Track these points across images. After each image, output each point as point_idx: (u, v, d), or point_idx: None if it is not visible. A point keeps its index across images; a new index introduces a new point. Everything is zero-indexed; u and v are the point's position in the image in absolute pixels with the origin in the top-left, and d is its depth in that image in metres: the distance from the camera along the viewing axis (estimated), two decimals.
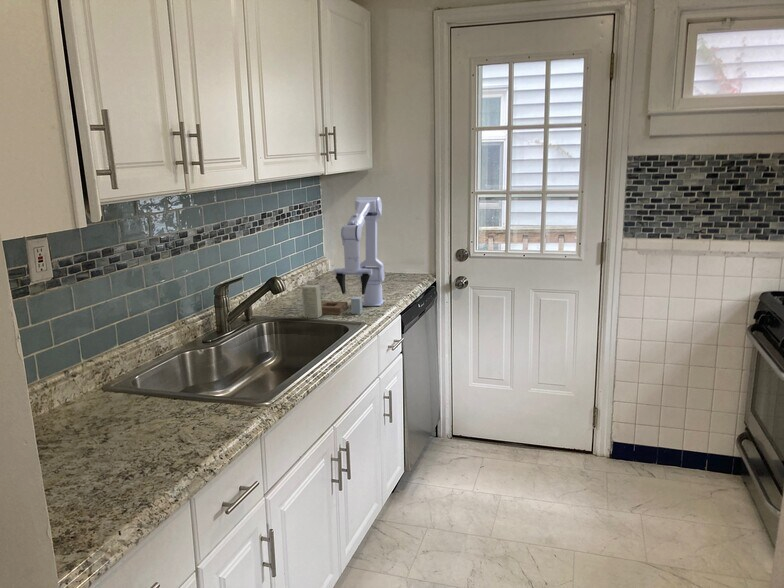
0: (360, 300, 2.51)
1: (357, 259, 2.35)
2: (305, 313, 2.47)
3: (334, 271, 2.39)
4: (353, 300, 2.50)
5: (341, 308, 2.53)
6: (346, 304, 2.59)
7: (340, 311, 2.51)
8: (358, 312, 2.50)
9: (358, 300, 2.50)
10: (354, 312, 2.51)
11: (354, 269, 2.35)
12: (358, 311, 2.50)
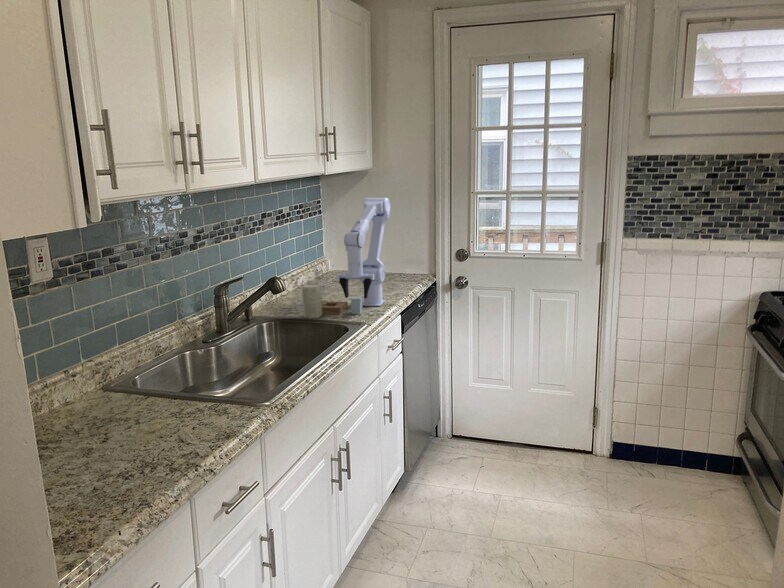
0: (360, 300, 2.51)
1: (360, 264, 2.47)
2: (305, 313, 2.47)
3: (338, 276, 2.50)
4: (353, 300, 2.50)
5: (341, 308, 2.53)
6: (346, 304, 2.59)
7: (340, 311, 2.51)
8: (358, 312, 2.50)
9: (358, 300, 2.50)
10: (354, 312, 2.51)
11: (357, 274, 2.47)
12: (358, 311, 2.50)
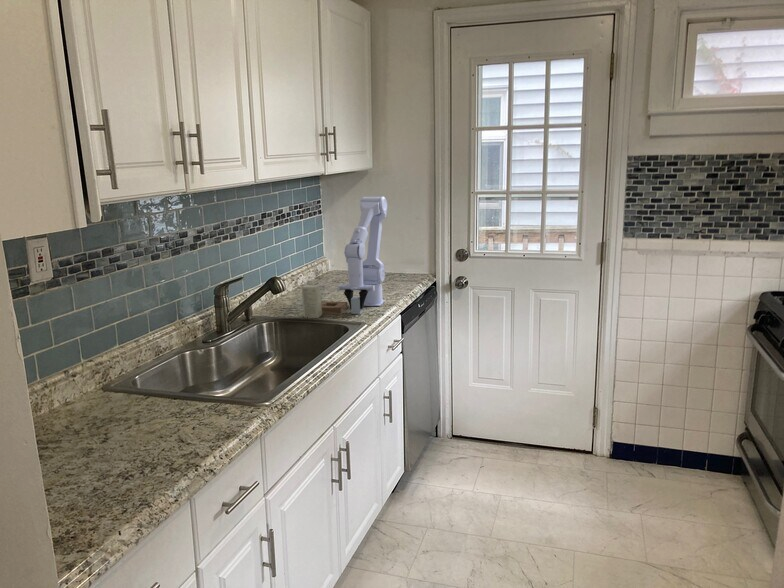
0: None
1: (360, 276, 2.48)
2: (305, 313, 2.47)
3: (338, 287, 2.51)
4: (353, 300, 2.50)
5: (341, 308, 2.53)
6: (346, 304, 2.59)
7: (340, 311, 2.51)
8: (358, 312, 2.50)
9: (358, 300, 2.49)
10: (354, 312, 2.51)
11: (357, 285, 2.48)
12: (358, 311, 2.50)
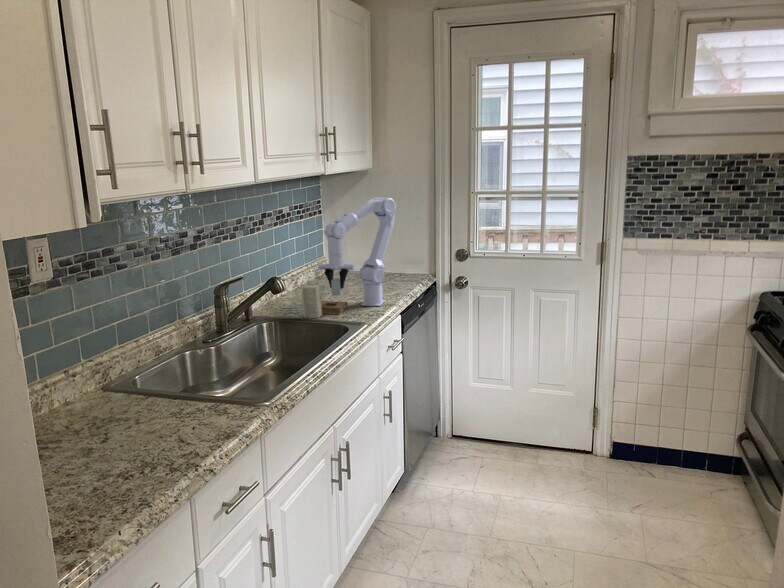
0: None
1: (340, 255, 2.49)
2: (305, 313, 2.47)
3: (318, 267, 2.52)
4: (333, 281, 2.51)
5: (341, 308, 2.53)
6: (346, 304, 2.59)
7: (340, 311, 2.51)
8: (338, 293, 2.52)
9: (338, 281, 2.51)
10: (334, 293, 2.52)
11: (337, 265, 2.49)
12: (338, 292, 2.52)
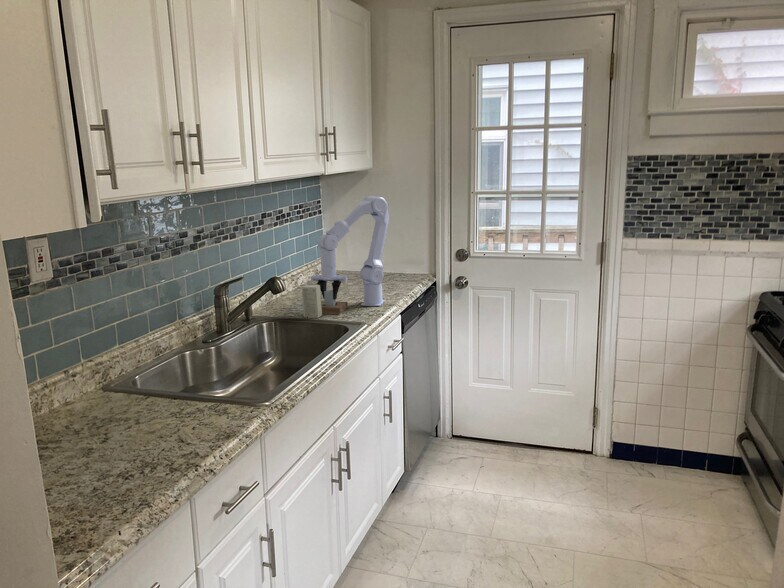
0: None
1: (333, 267, 2.51)
2: (305, 313, 2.47)
3: (312, 278, 2.55)
4: (326, 293, 2.54)
5: (341, 308, 2.53)
6: (346, 304, 2.59)
7: (340, 311, 2.51)
8: (331, 305, 2.55)
9: (331, 293, 2.53)
10: (327, 305, 2.55)
11: (330, 276, 2.51)
12: (331, 304, 2.54)
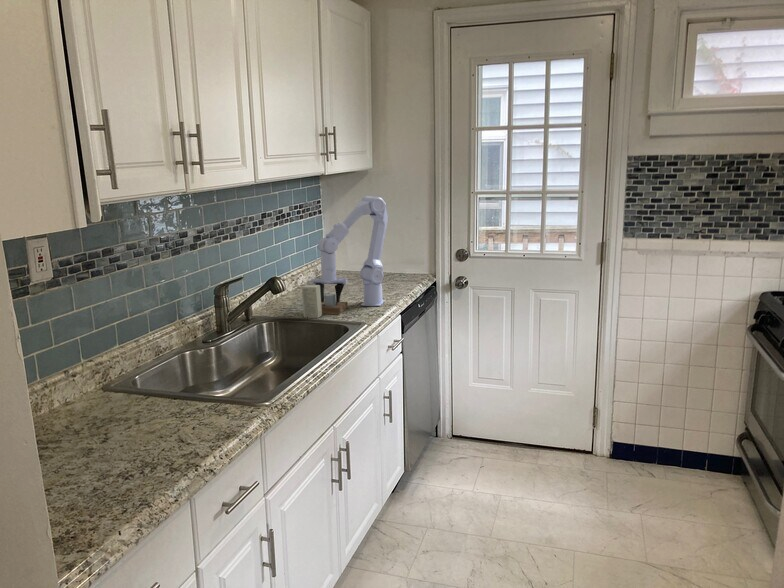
0: (333, 297, 2.55)
1: (333, 270, 2.52)
2: (305, 313, 2.47)
3: (312, 281, 2.55)
4: (326, 297, 2.54)
5: (341, 308, 2.53)
6: (346, 304, 2.59)
7: (340, 311, 2.51)
8: None
9: (331, 297, 2.54)
10: None
11: (330, 279, 2.52)
12: None
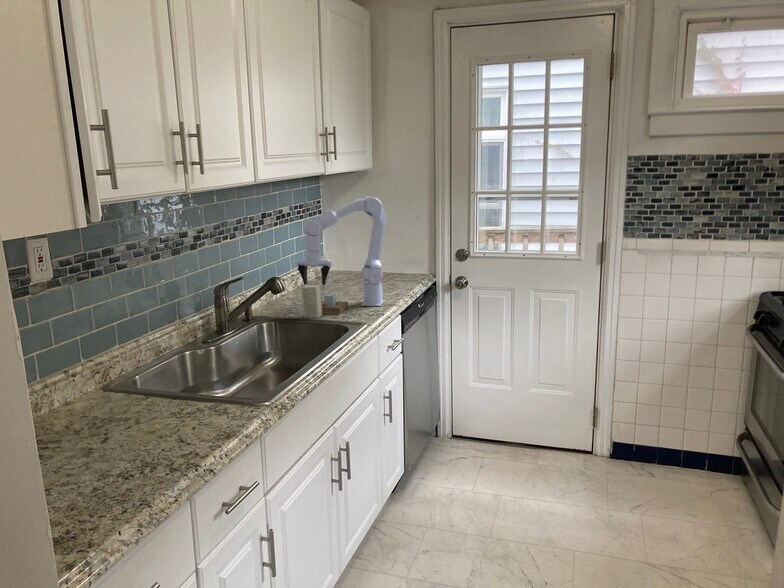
0: (333, 297, 2.55)
1: (318, 252, 2.51)
2: (305, 313, 2.47)
3: (296, 263, 2.55)
4: (326, 297, 2.54)
5: (341, 308, 2.53)
6: (346, 304, 2.59)
7: (340, 311, 2.51)
8: None
9: (331, 297, 2.54)
10: None
11: (315, 261, 2.51)
12: None
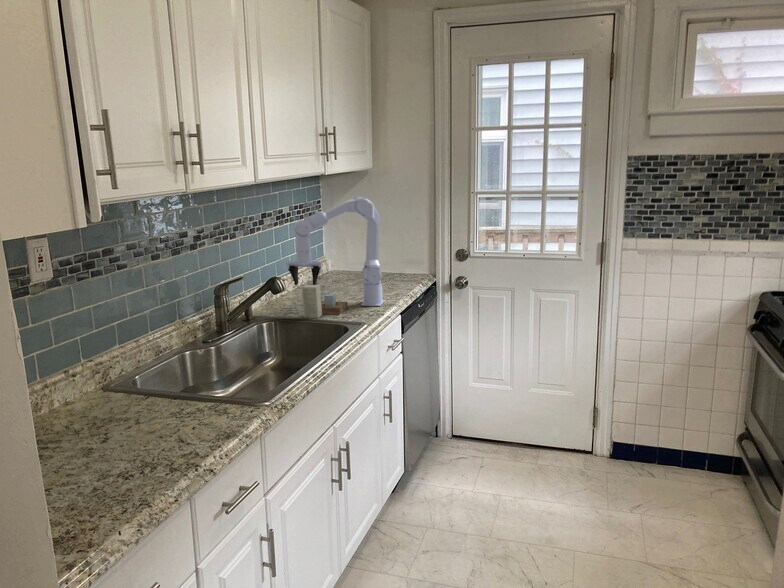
0: (333, 297, 2.55)
1: (308, 252, 2.52)
2: (305, 313, 2.47)
3: (287, 263, 2.56)
4: (326, 297, 2.54)
5: (341, 308, 2.53)
6: (346, 304, 2.59)
7: (340, 311, 2.51)
8: None
9: (331, 297, 2.54)
10: None
11: (305, 262, 2.52)
12: None
